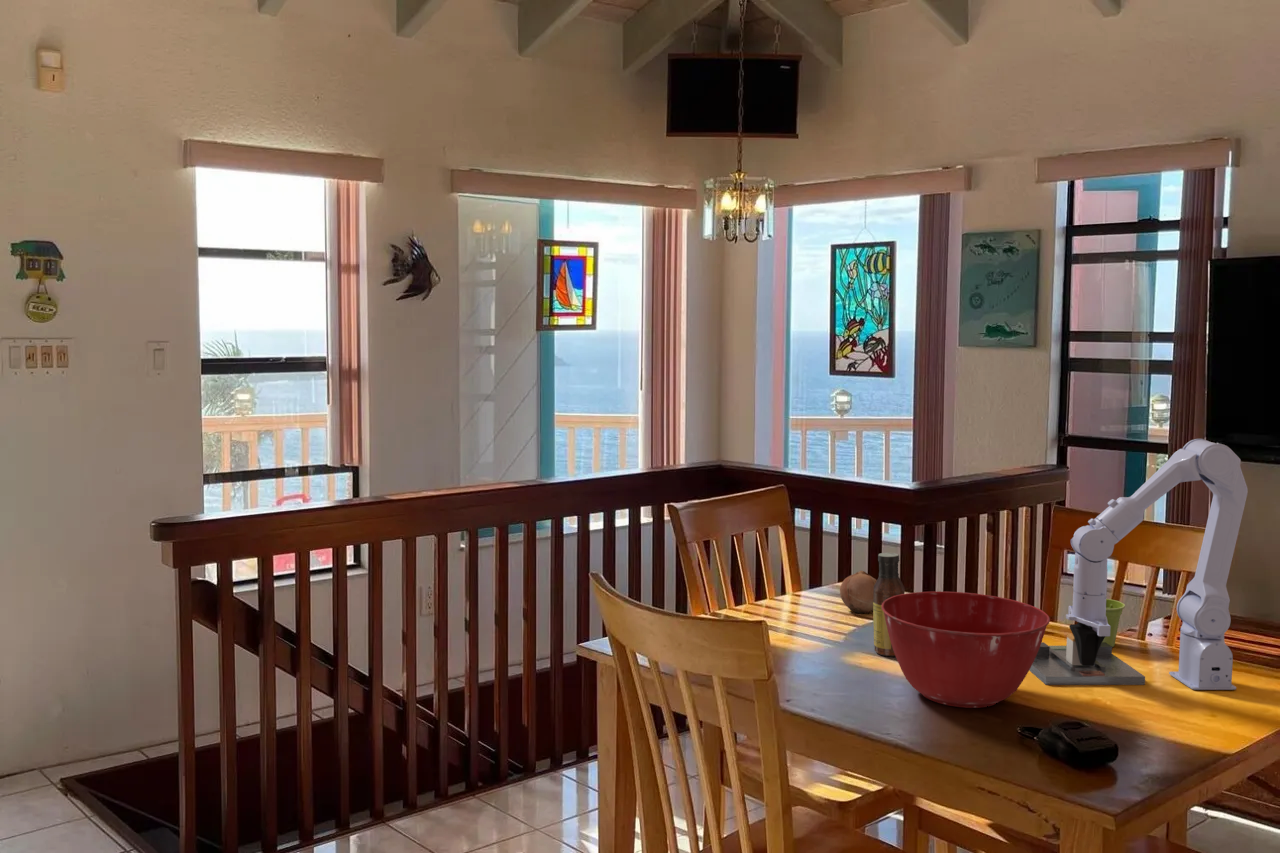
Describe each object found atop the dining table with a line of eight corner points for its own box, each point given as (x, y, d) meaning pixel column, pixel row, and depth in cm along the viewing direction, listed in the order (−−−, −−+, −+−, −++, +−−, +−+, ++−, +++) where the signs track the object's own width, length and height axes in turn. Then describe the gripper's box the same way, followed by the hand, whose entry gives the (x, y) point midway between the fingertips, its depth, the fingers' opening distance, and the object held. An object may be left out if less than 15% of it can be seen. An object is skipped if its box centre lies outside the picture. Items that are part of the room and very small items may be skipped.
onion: (858, 620, 268) (860, 577, 271) (890, 617, 261) (892, 573, 264) (829, 610, 263) (832, 567, 266) (861, 607, 256) (864, 562, 259)
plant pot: (1115, 654, 231) (1117, 611, 230) (1067, 645, 237) (1069, 603, 236) (1128, 643, 238) (1130, 601, 237) (1081, 636, 244) (1083, 595, 243)
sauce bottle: (903, 649, 234) (906, 551, 232) (907, 658, 227) (910, 557, 226) (870, 648, 234) (872, 550, 232) (873, 657, 228) (875, 557, 226)
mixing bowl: (1061, 686, 210) (1064, 602, 209) (1026, 735, 186) (1029, 640, 184) (908, 663, 224) (910, 584, 223) (856, 705, 200) (858, 616, 199)
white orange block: (1093, 665, 217) (1094, 638, 217) (1072, 665, 217) (1073, 638, 217) (1087, 660, 220) (1088, 634, 220) (1066, 660, 220) (1067, 634, 220)
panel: (1144, 684, 211) (1145, 665, 211) (1045, 684, 211) (1046, 665, 211) (1100, 653, 231) (1101, 635, 231) (1009, 653, 231) (1010, 635, 231)
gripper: (1053, 583, 221) (1050, 653, 222) (1083, 601, 207) (1080, 676, 208) (1090, 583, 221) (1087, 653, 223) (1123, 601, 207) (1120, 676, 208)
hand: (1086, 664), depth 215 cm, fingers closed
